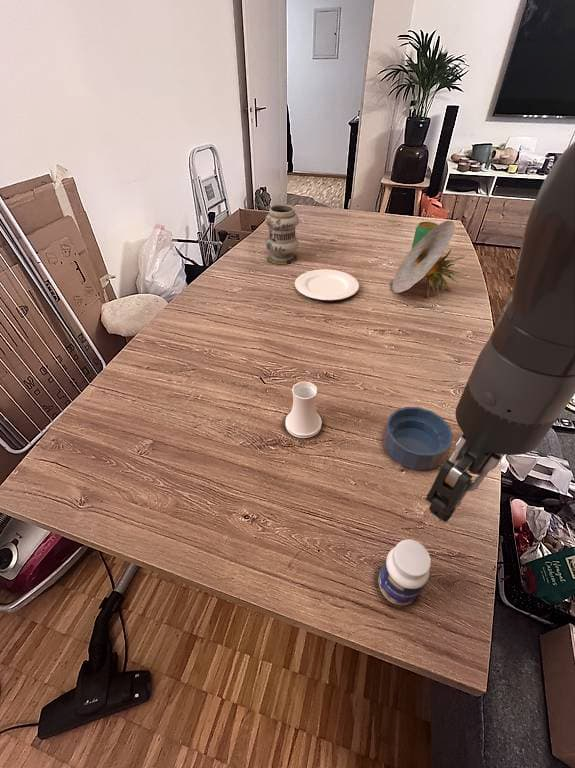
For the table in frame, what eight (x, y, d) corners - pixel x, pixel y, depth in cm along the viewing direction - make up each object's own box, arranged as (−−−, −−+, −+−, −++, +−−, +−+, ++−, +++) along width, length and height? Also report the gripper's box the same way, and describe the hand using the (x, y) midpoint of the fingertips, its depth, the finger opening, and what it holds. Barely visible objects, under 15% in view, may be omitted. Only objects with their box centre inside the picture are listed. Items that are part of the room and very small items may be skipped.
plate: (281, 289, 122) (281, 284, 121) (321, 268, 133) (321, 263, 132) (332, 312, 112) (333, 306, 110) (371, 287, 123) (371, 282, 122)
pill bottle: (376, 600, 54) (388, 573, 47) (378, 561, 58) (390, 530, 51) (417, 611, 53) (436, 584, 46) (417, 570, 57) (434, 540, 50)
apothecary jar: (280, 268, 133) (279, 216, 121) (259, 257, 140) (256, 207, 128) (305, 259, 139) (306, 208, 127) (284, 249, 146) (284, 200, 134)
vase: (312, 443, 75) (314, 408, 68) (279, 430, 78) (278, 395, 71) (326, 418, 80) (330, 383, 73) (295, 407, 83) (295, 372, 76)
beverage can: (428, 253, 143) (436, 220, 135) (434, 262, 137) (443, 229, 129) (407, 253, 143) (414, 221, 135) (412, 262, 137) (420, 229, 129)
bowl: (456, 447, 74) (464, 430, 71) (423, 483, 68) (430, 466, 65) (405, 414, 81) (410, 398, 77) (370, 444, 75) (374, 428, 71)
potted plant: (420, 333, 116) (497, 279, 102) (383, 293, 111) (459, 231, 98) (415, 301, 136) (479, 253, 122) (383, 266, 131) (446, 212, 118)
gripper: (524, 461, 27) (456, 557, 38) (591, 374, 34) (518, 476, 45) (432, 406, 31) (395, 507, 42) (508, 339, 38) (460, 440, 49)
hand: (458, 491), depth 43 cm, fingers open, 8 cm apart
